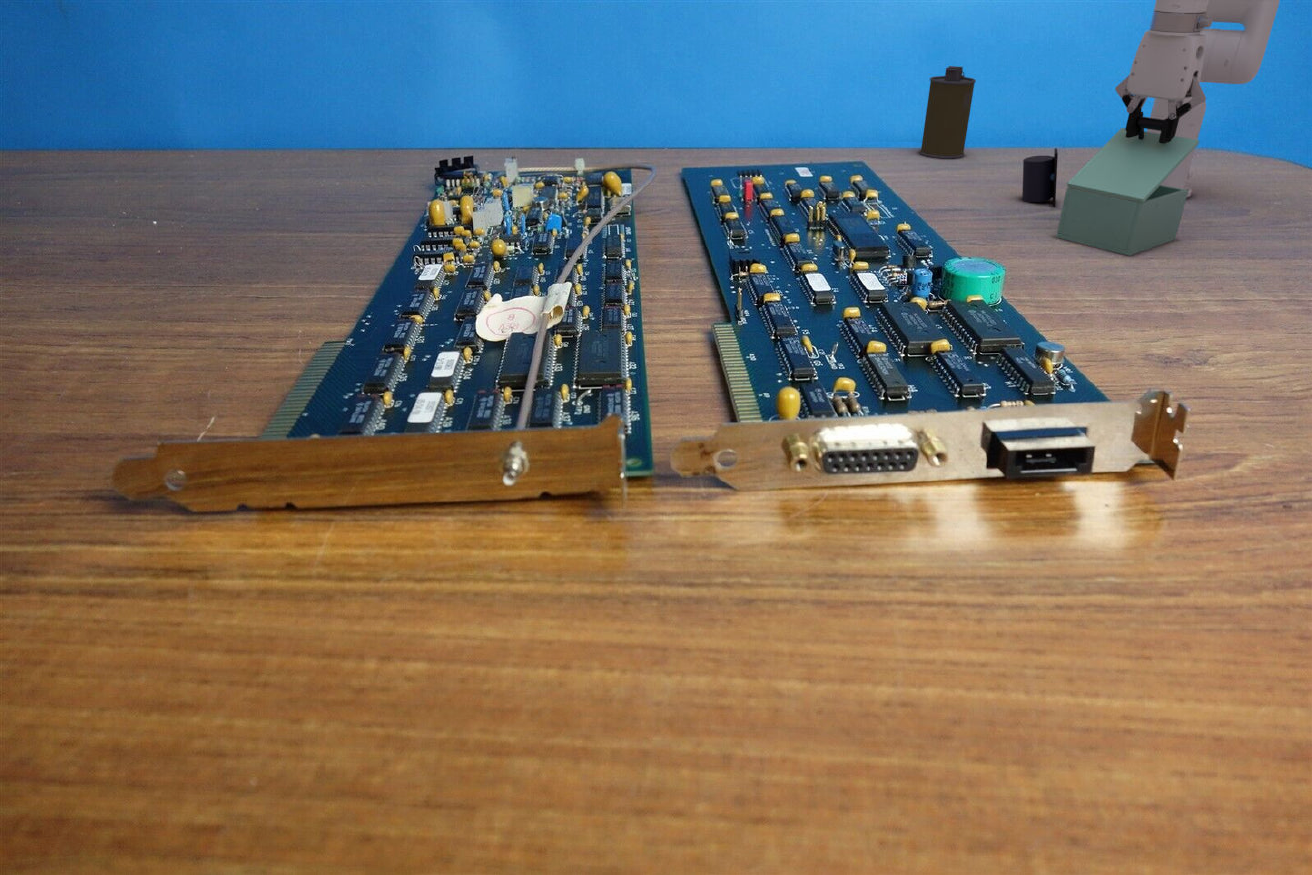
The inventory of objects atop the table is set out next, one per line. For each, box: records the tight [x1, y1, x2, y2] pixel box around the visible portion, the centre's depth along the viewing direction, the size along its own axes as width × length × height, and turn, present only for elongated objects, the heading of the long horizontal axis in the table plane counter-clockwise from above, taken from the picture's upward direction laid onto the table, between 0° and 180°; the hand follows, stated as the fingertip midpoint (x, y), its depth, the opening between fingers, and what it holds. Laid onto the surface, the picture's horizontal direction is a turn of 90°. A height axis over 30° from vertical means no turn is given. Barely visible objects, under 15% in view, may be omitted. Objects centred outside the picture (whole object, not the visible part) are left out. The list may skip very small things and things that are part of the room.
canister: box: [919, 65, 976, 160], centre depth 224 cm, size 11×10×20 cm
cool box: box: [1056, 185, 1189, 257], centre depth 164 cm, size 16×14×9 cm
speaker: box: [1021, 147, 1059, 208], centre depth 187 cm, size 8×6×10 cm
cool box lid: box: [1066, 116, 1200, 203], centre depth 158 cm, size 16×14×5 cm
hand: (1148, 138), depth 159 cm, fingers closed on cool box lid, 5 cm apart
